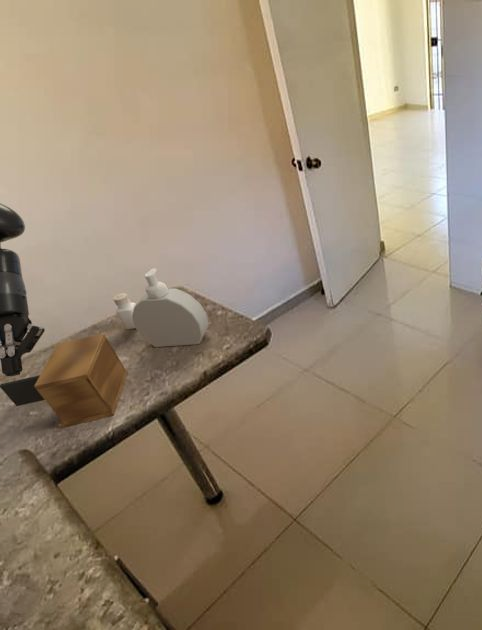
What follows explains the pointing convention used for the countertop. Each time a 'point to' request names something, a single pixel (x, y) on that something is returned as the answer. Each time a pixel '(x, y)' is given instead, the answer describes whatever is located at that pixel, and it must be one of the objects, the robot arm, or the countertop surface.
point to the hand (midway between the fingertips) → (13, 375)
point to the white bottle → (125, 310)
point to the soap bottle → (169, 315)
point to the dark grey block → (22, 391)
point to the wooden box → (82, 380)
